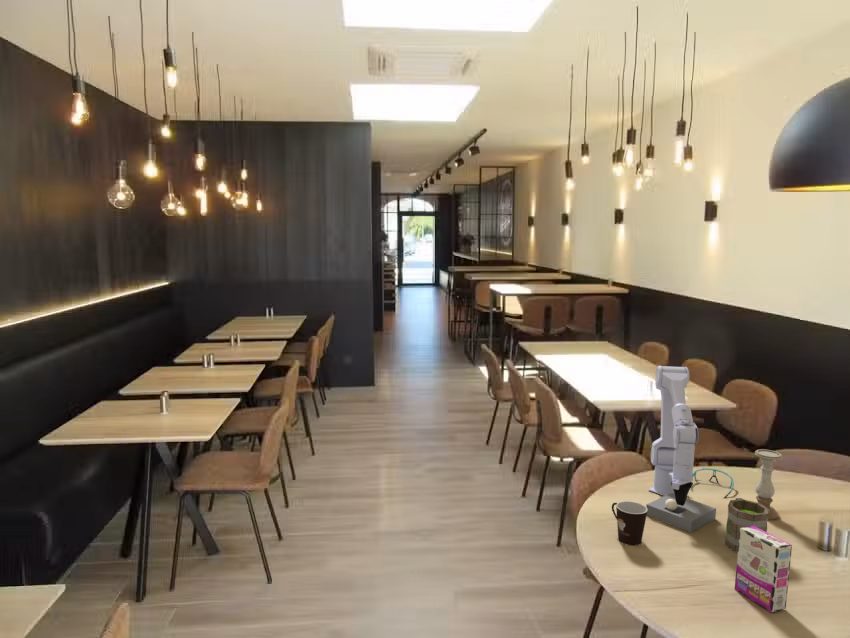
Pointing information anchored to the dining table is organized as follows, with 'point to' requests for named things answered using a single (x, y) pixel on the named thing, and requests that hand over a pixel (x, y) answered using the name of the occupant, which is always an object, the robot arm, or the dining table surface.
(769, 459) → the candle holder
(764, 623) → the dining table surface
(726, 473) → the teal safety glasses
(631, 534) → the coffee mug
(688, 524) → the deck
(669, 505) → the ball
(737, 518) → the mug
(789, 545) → the candy bar box
